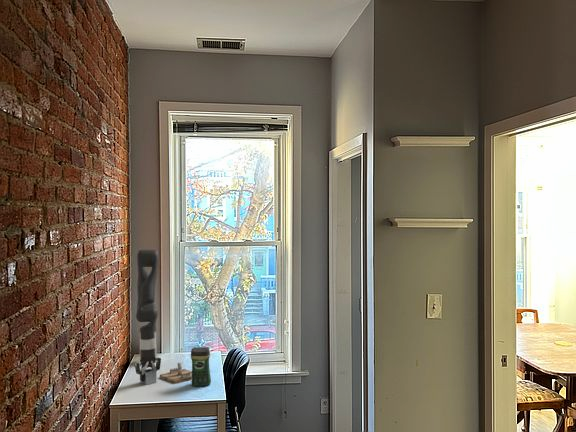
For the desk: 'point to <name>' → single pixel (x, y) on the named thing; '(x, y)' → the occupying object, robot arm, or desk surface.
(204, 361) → the coffee jar
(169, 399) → the desk surface
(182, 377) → the stand
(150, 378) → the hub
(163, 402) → the desk surface
